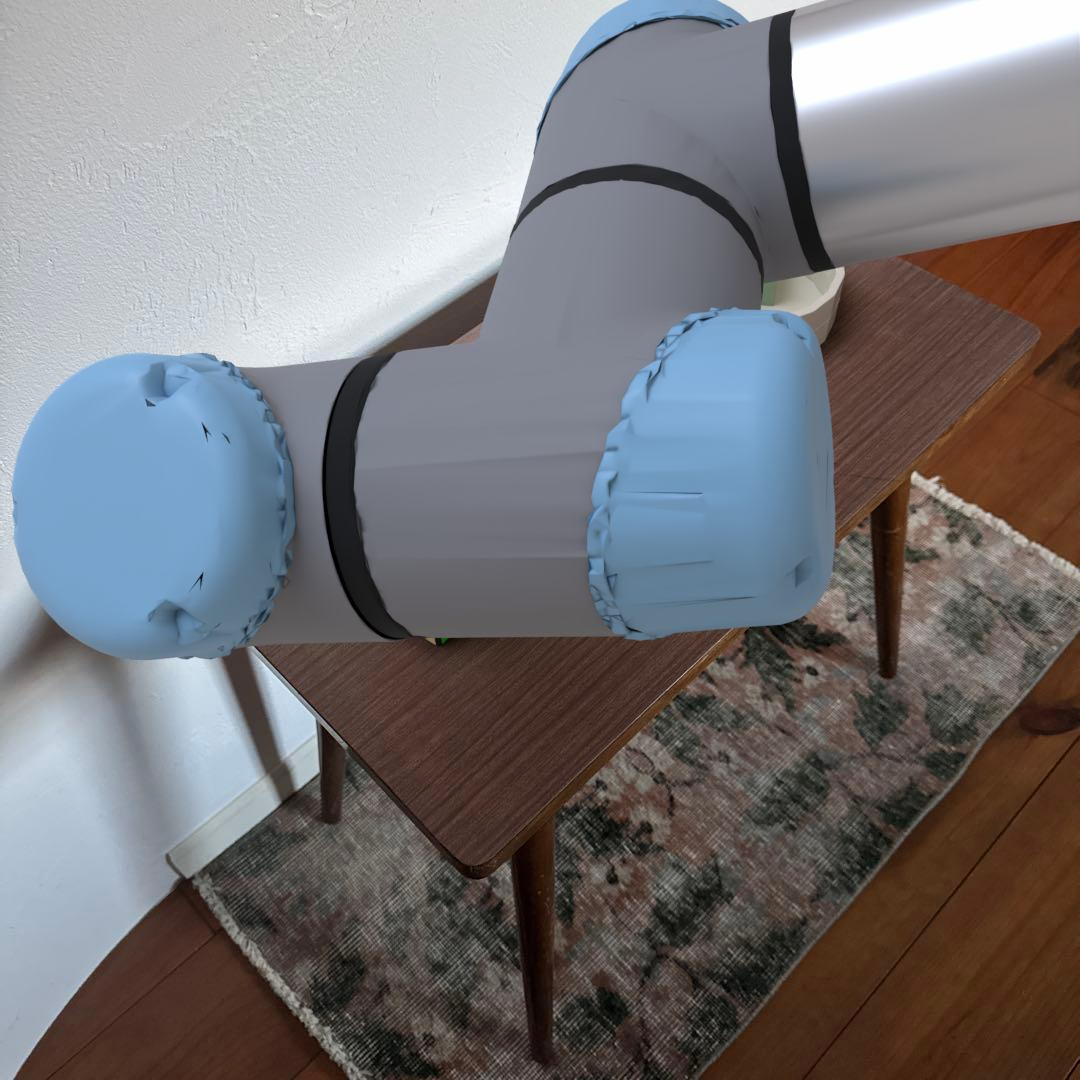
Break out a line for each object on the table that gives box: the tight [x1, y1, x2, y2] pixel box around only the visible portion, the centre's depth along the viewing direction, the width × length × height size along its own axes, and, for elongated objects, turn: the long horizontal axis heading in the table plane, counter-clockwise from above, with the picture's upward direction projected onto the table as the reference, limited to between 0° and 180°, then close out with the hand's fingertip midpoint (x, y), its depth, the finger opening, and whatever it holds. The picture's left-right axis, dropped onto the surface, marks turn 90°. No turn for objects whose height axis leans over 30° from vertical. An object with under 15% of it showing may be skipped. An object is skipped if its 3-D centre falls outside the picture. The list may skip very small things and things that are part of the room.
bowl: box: [761, 267, 846, 346], centre depth 95 cm, size 15×16×6 cm
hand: (581, 512), depth 61 cm, fingers open, 13 cm apart
